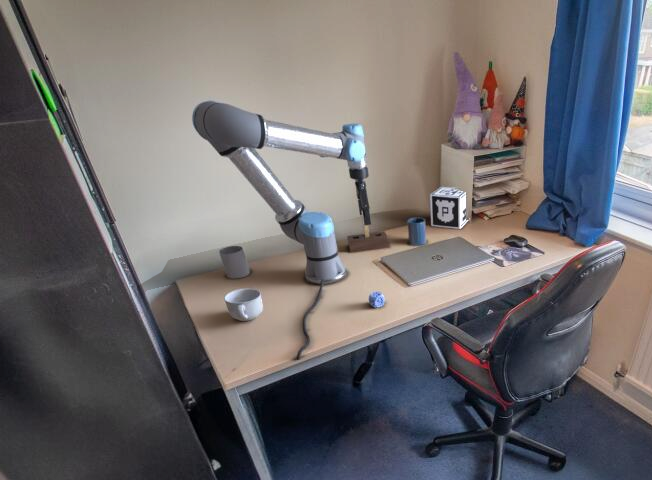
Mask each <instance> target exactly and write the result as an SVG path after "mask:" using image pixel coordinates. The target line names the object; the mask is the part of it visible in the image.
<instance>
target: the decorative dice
mask: <svg viewBox="0 0 652 480" xmlns="http://www.w3.org/2000/svg"><path fill="white" fill-rule="evenodd" d="M368 302H369V304H370V306H371V307H372V308H375V309H376V308H377V309H378V308H381V307H383V306H384V305H385V302H386V299H385V296H384V294H383V292H381V291H373V292H371V293H370V294H369V296H368Z"/></svg>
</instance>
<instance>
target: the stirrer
mask: <svg viewBox="0 0 652 480" xmlns="http://www.w3.org/2000/svg"><path fill="white" fill-rule="evenodd" d="M361 212H362V215H361V218H362V226H363V234H365V238H366V237H369V233H370V230H369V225H364V218H363V211H361Z"/></svg>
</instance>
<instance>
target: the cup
mask: <svg viewBox="0 0 652 480" xmlns="http://www.w3.org/2000/svg"><path fill="white" fill-rule="evenodd" d="M218 254H219V256H220V260H221V262H222V265H223V268H224V272H225V274H226V277H227V278H228V279H242V278H244V277H247V276H248V275H249V274H250V273H251V270H250V267H249V264H248V260H247V258H246V254H245V251H244V249H243V247H242V246H241V245H230V246H226V247H223V248H221V249H220V250H219V251H218Z"/></svg>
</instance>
